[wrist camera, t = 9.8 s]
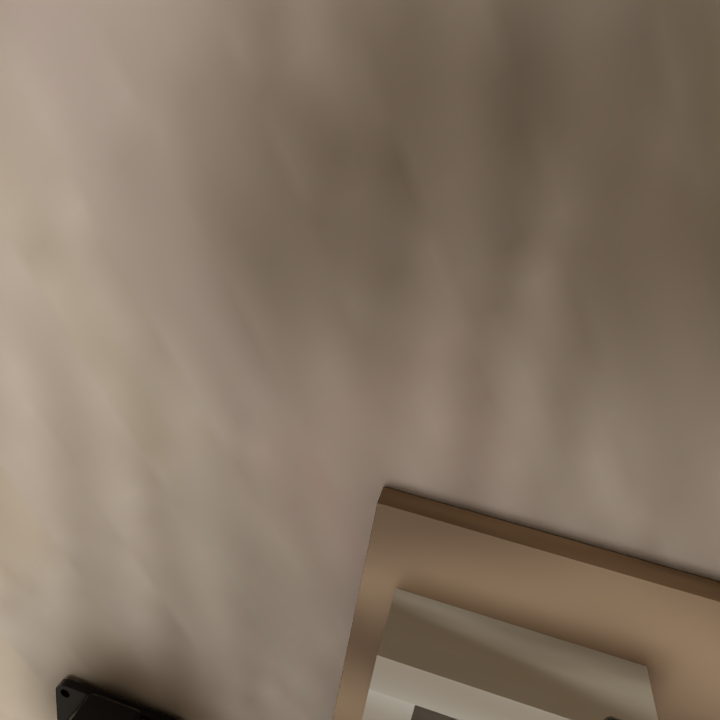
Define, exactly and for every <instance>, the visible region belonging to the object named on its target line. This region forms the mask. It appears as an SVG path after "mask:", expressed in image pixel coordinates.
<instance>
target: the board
mask: <svg viewBox="0 0 720 720" xmlns="http://www.w3.org/2000/svg"><path fill="white" fill-rule="evenodd" d="M608 716H613V717H616V718H619V719H622V720H720V582H717V581H713V580H710V579H706V578H703V577H699V576H696V575H692V574H689V573H685V572H682V571H678V570H675V569H671V568H668V567H664V566H661V565H657V564H653V563H650V562H646V561H643V560H639V559H636V558H632V557H629V556H625V555H622V554H618V553H615V552H611V551H608V550H604V549H601V548H597V547H594V546H590V545H587V544H583V543H580V542H576V541H573V540H569V539H566V538H562V537H559V536H555V535H552V534H548V533H545V532H541V531H537V530H534V529H530V528H527V527H523V526H520V525H516V524H513V523H509V522H506V521H502V520H499V519H495V518H492V517H488V516H485V515H481V514H478V513H474V512H471V511H467V510H464V509H460V508H457V507H453V506H450V505H446V504H443V503H439V502H436V501H432V500H428V499H425V498H421V497H418V496H414V495H411V494H407V493H404V492H400V491H397V490H393V489H390V488H386V487H383V490H382V492H381V495H380V498H379V500H378V503H377V507H376V512H375V517H374V522H373V526H372V531H371V536H370V541H369V546H368V551H367V555H366V560H365V565H364V570H363V575H362V580H361V584H360V589H359V594H358V599H357V604H356V609H355V613H354V618H353V623H352V628H351V633H350V638H349V643H348V647H347V652H346V657H345V662H344V667H343V672H342V676H341V681H340V686H339V691H338V696H337V701H336V705H335V710H334V715H333V720H604V719H605V718H606V717H608Z"/></svg>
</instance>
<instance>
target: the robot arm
mask: <svg viewBox="0 0 720 720" xmlns="http://www.w3.org/2000/svg"><path fill="white" fill-rule="evenodd" d="M56 702H57V720H178V719H176V718H173V717H171V716H168V715H165V714H163V713H160V712H157V711H155V710H152V709H149V708H147V707H144V706H141V705H138V704H136V703H133V702H130V701H128V700H125V699H122V698H120V697H117V696H114V695H112V694H109V693H106V692H103V691H101V690H98V689H95V688H93V687H90V686H87V685H85V684H82V683H79V682H77V681H74V680H71V679H63V680H62V681H61V683H60V684H59V685H58V686H57V687H56ZM604 720H622V719H619V718H616V717H613V716H608V717H606V718H605V719H604Z"/></svg>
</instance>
